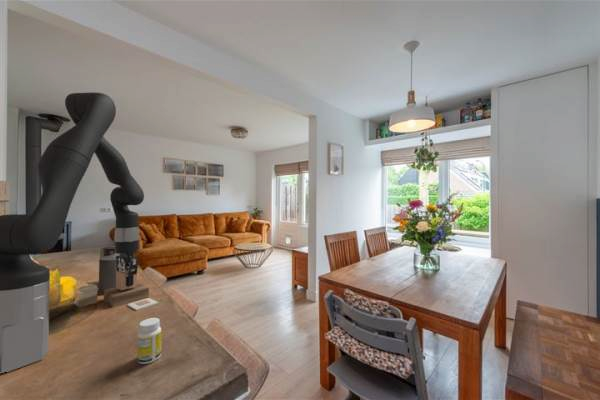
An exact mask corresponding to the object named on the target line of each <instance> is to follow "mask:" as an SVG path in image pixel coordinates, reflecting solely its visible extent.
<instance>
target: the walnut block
mask: <svg viewBox="0 0 600 400" xmlns="http://www.w3.org/2000/svg"><path fill="white" fill-rule="evenodd" d="M149 291H150V290H149V287H148V286H145V285H143V284H141V283H139V282H138V281H137V287H133V288H129V289H125V290H120V289H118V288H116V287H115V288H111V289H106V290H104V294H103V301H104V300H105V301H104V302H106V303H107V302H108V303H109V304H108V303H107V304H108V305H110V306H111V307H112V308H113V307H114V308H117V307H120V306H124V305H127V304H130V303H133V302H136V301H140V300H143V299H147V298H150V297H149V296H150V293H149Z"/></svg>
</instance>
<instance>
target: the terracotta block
mask: <svg viewBox="0 0 600 400" xmlns="http://www.w3.org/2000/svg"><path fill="white" fill-rule="evenodd" d="M131 272H132V271H131ZM137 282H138V273H137V274H135V275H134V277H133V286H129V287H127V286H126V272H125V271H124V270H122V271H116V288H118V289H120V290H125V289H129V288H133V287H137Z"/></svg>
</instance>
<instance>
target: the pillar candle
mask: <svg viewBox="0 0 600 400" xmlns="http://www.w3.org/2000/svg"><path fill="white" fill-rule="evenodd" d="M116 256H119V255H111V256H105V257H101V258H100V257H99V260H98V263H99V264H98V293H99V294H100V293H102V294H101V295H104V290H106V289H111V288H115V287H116V271H117V266H116Z"/></svg>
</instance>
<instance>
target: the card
mask: <svg viewBox="0 0 600 400" xmlns="http://www.w3.org/2000/svg"><path fill="white" fill-rule="evenodd" d="M158 304H159V302H158V301H157V300H154V299H152V298H150V297H149V298H146V299H142V300H139V301H135V302H131V303H128V304H126V306H127V307H129V308H131V309H132V310H134V311H140V310H142V309H145V308H148V307H151V306H154V305H158Z"/></svg>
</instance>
